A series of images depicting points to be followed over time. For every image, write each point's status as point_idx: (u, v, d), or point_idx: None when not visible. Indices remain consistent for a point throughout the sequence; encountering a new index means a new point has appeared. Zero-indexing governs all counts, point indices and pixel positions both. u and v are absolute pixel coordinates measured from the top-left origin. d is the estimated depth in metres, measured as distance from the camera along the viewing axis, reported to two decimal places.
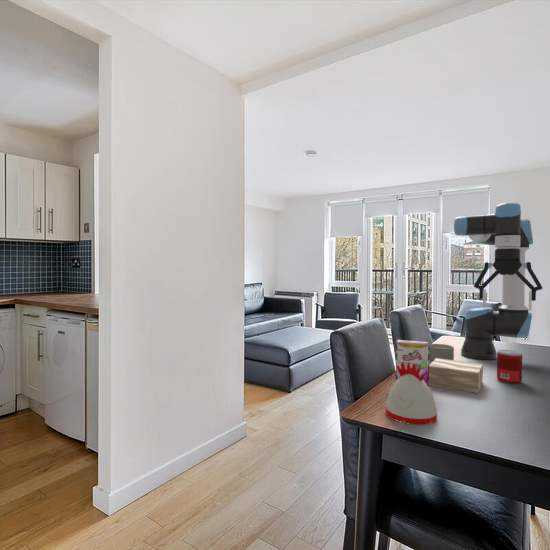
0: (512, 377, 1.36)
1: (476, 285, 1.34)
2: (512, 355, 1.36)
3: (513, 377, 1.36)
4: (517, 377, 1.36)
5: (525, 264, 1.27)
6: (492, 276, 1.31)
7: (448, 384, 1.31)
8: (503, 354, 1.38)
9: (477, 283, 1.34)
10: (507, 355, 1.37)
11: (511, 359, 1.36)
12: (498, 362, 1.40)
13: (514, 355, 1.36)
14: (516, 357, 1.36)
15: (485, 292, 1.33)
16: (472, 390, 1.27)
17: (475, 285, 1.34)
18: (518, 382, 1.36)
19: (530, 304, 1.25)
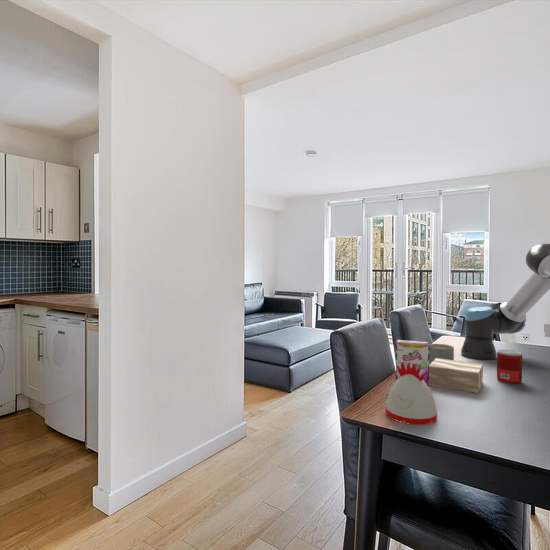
0: (512, 377, 1.36)
1: None
2: (512, 355, 1.36)
3: (513, 377, 1.36)
4: (517, 377, 1.36)
5: None
6: None
7: (448, 384, 1.31)
8: (503, 354, 1.38)
9: None
10: (507, 355, 1.37)
11: (511, 359, 1.36)
12: (498, 362, 1.40)
13: (514, 355, 1.36)
14: (516, 357, 1.36)
15: None
16: (472, 390, 1.27)
17: None
18: (518, 382, 1.36)
19: None
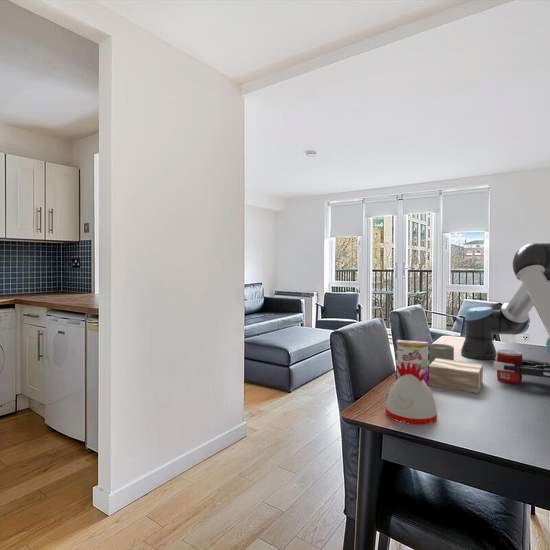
0: (512, 377, 1.36)
1: None
2: (512, 355, 1.36)
3: (513, 377, 1.36)
4: (517, 377, 1.36)
5: None
6: None
7: (448, 384, 1.31)
8: (503, 354, 1.38)
9: None
10: (507, 355, 1.37)
11: (511, 359, 1.36)
12: None
13: (514, 355, 1.36)
14: (516, 357, 1.36)
15: None
16: (472, 390, 1.27)
17: None
18: (518, 382, 1.36)
19: None
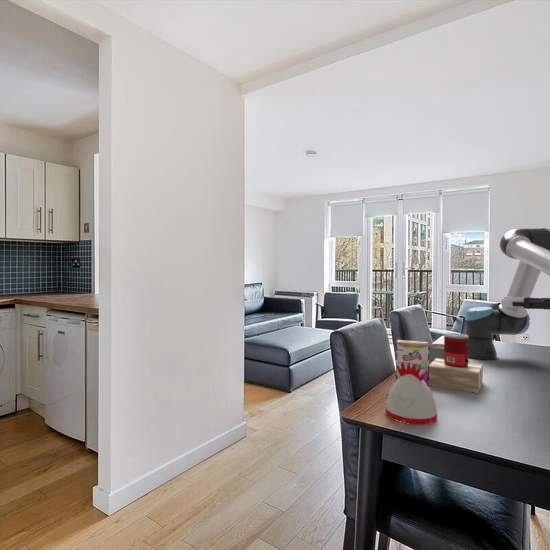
0: (457, 361, 1.32)
1: None
2: (458, 338, 1.32)
3: (459, 360, 1.32)
4: (463, 360, 1.32)
5: None
6: None
7: (448, 384, 1.31)
8: (449, 337, 1.34)
9: None
10: (453, 338, 1.33)
11: (456, 342, 1.32)
12: (445, 345, 1.36)
13: (459, 338, 1.32)
14: (462, 340, 1.32)
15: None
16: (472, 390, 1.27)
17: (528, 308, 1.25)
18: (464, 366, 1.32)
19: None
